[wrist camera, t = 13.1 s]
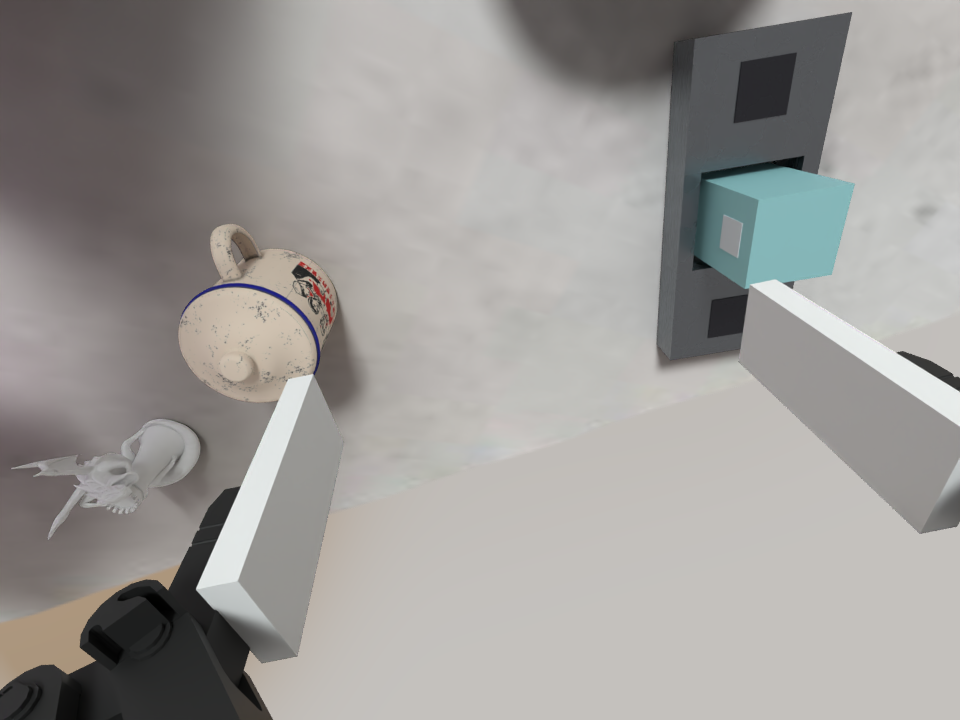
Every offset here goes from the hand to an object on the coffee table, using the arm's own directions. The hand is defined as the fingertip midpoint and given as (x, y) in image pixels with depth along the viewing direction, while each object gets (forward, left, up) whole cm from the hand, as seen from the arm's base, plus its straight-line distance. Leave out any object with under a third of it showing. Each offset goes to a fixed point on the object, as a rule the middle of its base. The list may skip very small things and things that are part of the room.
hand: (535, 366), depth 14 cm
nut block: (+4, +20, -26) cm, 33 cm away
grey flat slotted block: (+4, +20, -26) cm, 33 cm away
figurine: (+16, -34, -26) cm, 46 cm away
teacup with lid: (+4, -17, -26) cm, 31 cm away
